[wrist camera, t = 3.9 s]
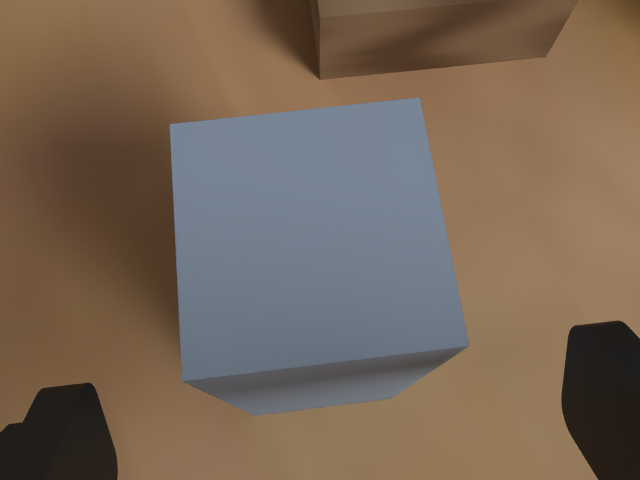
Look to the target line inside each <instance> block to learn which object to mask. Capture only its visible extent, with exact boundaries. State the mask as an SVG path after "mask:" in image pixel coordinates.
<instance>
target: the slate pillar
mask: <svg viewBox="0 0 640 480" xmlns="http://www.w3.org/2000/svg"><path fill="white" fill-rule="evenodd" d="M170 141H171V162H172V182H173V203H174V224H175V244H176V265H177V285H178V306H179V326H180V347H181V368H182V381H183V382H185V383H187V384H189V385H191V386H193V387H195V388H197V389H200V390H202V391H204V392H206V393H208V394H210V395H212V396H214V397H216V398H218V399H220V400H223V401H225V402H227V403H229V404H231V405H233V406H235V407H237V408H239V409H241V410H244V411H246V412H248V413H250V414H252V415H254V416H255V415H263V414H271V413H279V412H287V411H295V410H303V409H311V408H319V407H327V406H335V405H343V404H351V403H359V402H367V401H375V400H383V399H390V398H393V397H394V396H396V395H397V394H399V393H400V392H402V391H403V390H405V389H406V388H408V387H409V386H410V385H412V384H413V383H415V382H416V381H418V380H419V379H421V378H422V377H424V376H425V375H427V374H428V373H430V372H431V371H433V370H434V369H436V368H437V367H439V366H440V365H442V364H443V363H445V362H446V361H448V360H449V359H451V358H452V357H453V356H455V355H456V354H458V353H459V352H461V351H462V350H464V349H465V348H467V347H468V346H469V342H468V337H467V332H466V327H465V322H464V317H463V312H462V307H461V302H460V297H459V292H458V287H457V282H456V277H455V272H454V267H453V262H452V257H451V252H450V247H449V242H448V237H447V232H446V227H445V222H444V217H443V212H442V207H441V202H440V197H439V192H438V187H437V182H436V177H435V172H434V167H433V162H432V157H431V152H430V146H429V141H428V136H427V131H426V126H425V121H424V116H423V111H422V106H421V101H420V98H411V99H401V100H392V101H383V102H373V103H364V104H354V105H345V106H336V107H326V108H317V109H307V110H298V111H289V112H279V113H270V114H260V115H251V116H242V117H232V118H223V119H214V120H204V121H195V122H185V123H176V124H170Z"/></svg>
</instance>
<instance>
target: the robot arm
mask: <svg viewBox="0 0 640 480" xmlns="http://www.w3.org/2000/svg"><path fill="white" fill-rule="evenodd" d="M561 401H562V411H563V415H564V419H565V423H566V425H567V428H568V430H569V432H570V434H571V436H572V438H573V439H574V441H575V443H576V444H577V446H578V447H579V449H580V451H581V452H582V454H583V456H584V457H585V459H586V460H587V462H588V464H589V465H590V467H591V469H592V470H593V472H594V473H595V475H596V477H597V478H598V480H640V339H639V338H638V337H637V335H636V334H635V333H634V332H633V331H632V330H631V329H630V328H629V327H628V326H627V325H626V324H625V323H623V322H622V321H610V322H602V323H593V324H585V325H577V326H573V327H572V328H571V330H570V332H569V336H568V343H567V352H566V361H565V370H564V379H563V387H562V398H561ZM117 474H118V467H117V457H116V452H115V448H114V445H113V442H112V439H111V435H110V432H109V429H108V426H107V423H106V420H105V417H104V413H103V410H102V407H101V404H100V401H99V398H98V395H97V392H96V389H95V388H94V386H93V385H92V384H91V383H82V384H73V385H65V386H57V387H48V388H43V389H41V390H40V391H39V392H38V394H37V395H36V397H35V399H34V401H33V403H32V405H31V407H30V409H29V411H28V413H27V415H26V417H25V419H24V421H23V423H15V424H9V425H8V426H7V427H6V428H4V429H3V430H2V431H1V432H0V480H117Z"/></svg>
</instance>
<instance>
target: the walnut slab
mask: <svg viewBox="0 0 640 480" xmlns="http://www.w3.org/2000/svg"><path fill="white" fill-rule="evenodd" d="M577 2H578V0H309V3H310V10H311V18H312V25H313V32H314V40H315V47H316V54H317V62H318V69H319V77H320V80H324V79H334V78H343V77H353V76H363V75H373V74H383V73H393V72H403V71H413V70H423V69H433V68H443V67H452V66H462V65H472V64H482V63H492V62H502V61H512V60H522V59H532V58H542V57H546V56H547V54H548V52H549V50H550V49H551V47H552V45H553V44H554V42H555V40H556V38H557V37H558V35H559V33H560V31H561V30H562V28H563V26H564V25H565V23H566V21H567V19H568V18H569V16H570V14H571V12H572V11H573V9H574V7H575V6H576V4H577Z"/></svg>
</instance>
